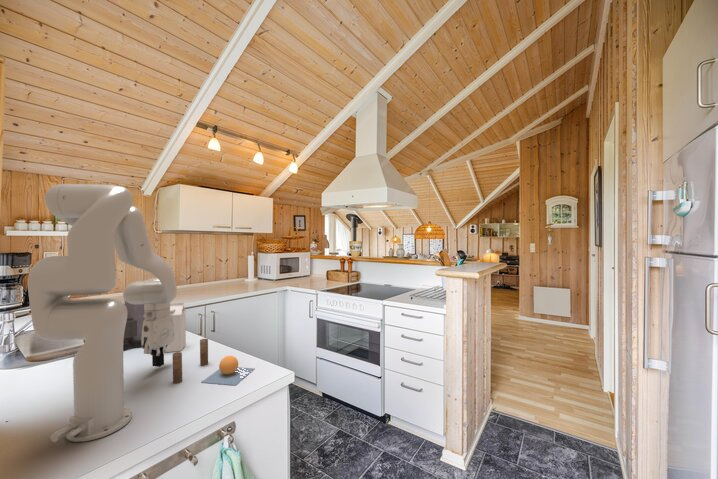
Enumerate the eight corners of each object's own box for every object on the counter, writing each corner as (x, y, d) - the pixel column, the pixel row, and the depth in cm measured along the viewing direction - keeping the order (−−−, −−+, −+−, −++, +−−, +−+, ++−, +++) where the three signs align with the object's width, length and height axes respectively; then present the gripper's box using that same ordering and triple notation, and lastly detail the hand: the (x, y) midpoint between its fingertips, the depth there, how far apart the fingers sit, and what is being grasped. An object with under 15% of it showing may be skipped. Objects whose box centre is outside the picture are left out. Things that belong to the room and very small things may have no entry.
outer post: (205, 366, 111) (204, 341, 111) (198, 365, 112) (198, 340, 111) (209, 363, 114) (209, 338, 114) (203, 362, 114) (203, 338, 114)
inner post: (178, 383, 98) (177, 355, 98) (170, 383, 99) (170, 355, 98) (184, 379, 101) (183, 352, 101) (176, 379, 101) (176, 352, 101)
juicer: (159, 333, 148) (158, 282, 148) (174, 339, 139) (174, 285, 139) (76, 352, 124) (75, 292, 123) (88, 362, 115) (87, 296, 114)
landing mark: (235, 385, 97) (235, 385, 97) (201, 382, 99) (201, 382, 99) (254, 369, 109) (254, 368, 109) (223, 366, 111) (223, 366, 111)
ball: (215, 360, 102) (215, 377, 102) (233, 361, 102) (233, 378, 102) (224, 352, 108) (224, 368, 108) (241, 353, 108) (241, 369, 108)
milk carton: (166, 346, 130) (166, 301, 129) (185, 345, 132) (185, 300, 132) (161, 353, 123) (160, 305, 123) (181, 351, 125) (181, 304, 125)
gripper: (149, 319, 100) (149, 376, 100) (182, 308, 115) (183, 357, 115) (129, 318, 101) (129, 374, 102) (164, 307, 116) (165, 356, 116)
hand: (158, 365), depth 108 cm, fingers closed
